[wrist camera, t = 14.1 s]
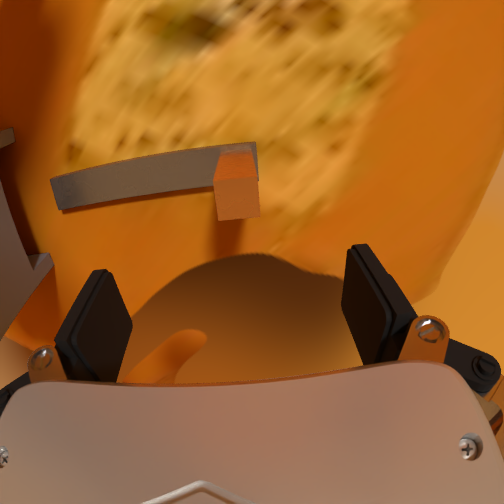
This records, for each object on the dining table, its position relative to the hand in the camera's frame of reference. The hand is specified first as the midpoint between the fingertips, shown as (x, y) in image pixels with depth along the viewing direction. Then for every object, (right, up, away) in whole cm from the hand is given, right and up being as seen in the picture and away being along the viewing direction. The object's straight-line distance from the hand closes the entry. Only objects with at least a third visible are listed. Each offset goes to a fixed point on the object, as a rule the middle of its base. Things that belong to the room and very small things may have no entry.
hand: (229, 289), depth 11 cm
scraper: (-11, +10, +19) cm, 24 cm away
